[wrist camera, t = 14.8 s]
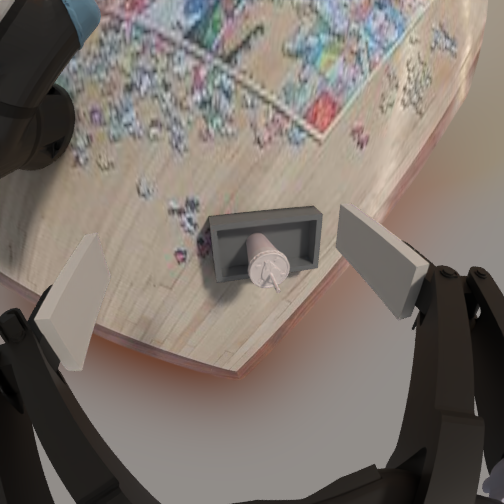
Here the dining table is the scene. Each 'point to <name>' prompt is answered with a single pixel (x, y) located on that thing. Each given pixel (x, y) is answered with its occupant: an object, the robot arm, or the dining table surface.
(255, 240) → the smoothie
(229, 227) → the tray
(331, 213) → the dining table surface
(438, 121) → the dining table surface
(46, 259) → the dining table surface
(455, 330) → the robot arm
